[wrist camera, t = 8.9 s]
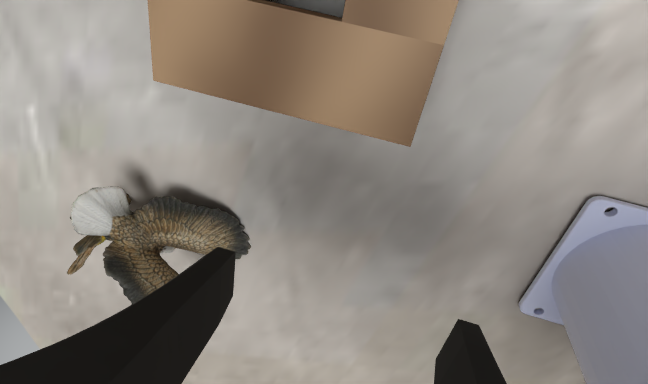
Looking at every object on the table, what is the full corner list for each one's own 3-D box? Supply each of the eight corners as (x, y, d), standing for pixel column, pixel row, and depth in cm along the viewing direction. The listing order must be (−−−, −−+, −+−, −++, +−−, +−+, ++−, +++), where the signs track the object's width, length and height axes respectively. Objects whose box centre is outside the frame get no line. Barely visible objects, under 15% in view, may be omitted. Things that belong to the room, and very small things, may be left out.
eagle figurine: (114, 265, 27) (218, 328, 25) (16, 280, 20) (149, 369, 18) (160, 169, 27) (267, 225, 25) (78, 150, 20) (218, 227, 18)
